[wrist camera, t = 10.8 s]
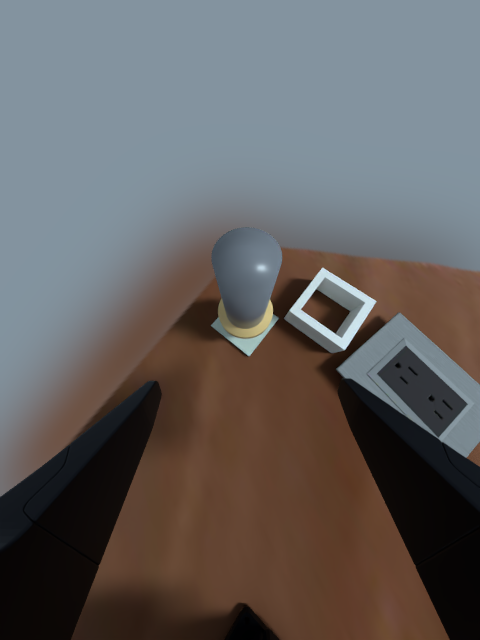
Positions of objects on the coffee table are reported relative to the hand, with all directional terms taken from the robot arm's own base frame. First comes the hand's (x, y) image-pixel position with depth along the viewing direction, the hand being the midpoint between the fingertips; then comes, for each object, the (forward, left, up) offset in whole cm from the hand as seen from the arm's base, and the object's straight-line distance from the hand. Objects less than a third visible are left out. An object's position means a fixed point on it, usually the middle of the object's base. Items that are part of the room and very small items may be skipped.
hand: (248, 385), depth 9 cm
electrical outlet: (+11, -15, -13) cm, 23 cm away
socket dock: (+12, -3, -13) cm, 18 cm away
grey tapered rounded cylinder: (+5, +4, -12) cm, 14 cm away
